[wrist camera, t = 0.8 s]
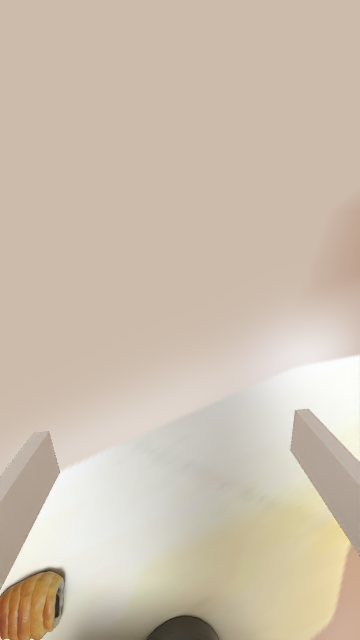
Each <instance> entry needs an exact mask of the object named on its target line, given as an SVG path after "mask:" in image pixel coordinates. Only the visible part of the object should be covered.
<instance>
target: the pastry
mask: <svg viewBox="0 0 360 640" xmlns="http://www.w3.org/2000/svg"><path fill="white" fill-rule="evenodd" d="M63 587H64V579H63V578H62V576H60V575H58V574H57V573H55V572H52V571H48V572H44V573H42V572H40V573H38V574H36V575H33V576H31V577H29V578H27V579H25V580H23V581H21V582H19V583H17V584H15V585H14V586H12V587H10V588H9V589H7V590H6V591H5V592H4V593H3V594H2V595H1V596H0V637H1V639H2V640H4V639H10V640H30V639H31V638H33V639H34V640H40V639H41V638H42V637H43V636H44V635H45V634H46V633H47V632H51V631H52V630H53V629H54V628H55V627H56V626H57V625H58V624H59V621H60V619H61V608H62V606H63V592H62V590H63Z"/></svg>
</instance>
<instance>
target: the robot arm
mask: <svg viewBox="0 0 360 640" xmlns="http://www.w3.org/2000/svg"><path fill="white" fill-rule="evenodd" d="M290 450H291V452H292V453H293V455H294V456H295V458H296V459H297V461H298V462H299V464H300V466H301V467H302V469H303V470H304V472H305V473H306V475H307V476H308V478H309V479H310V481H311V482H312V484H313V485H314V487H315V489H316V490H317V492H318V493H319V495H320V496H321V498H322V499H323V501H324V502H325V504H326V505H327V507H328V508H329V510H330V512H331V513H332V515H333V516H334V518H335V519H336V521H337V522H338V524H339V525H340V527H341V528H342V530H343V531H344V533H345V535H346V536H347V538H348V539H349V541H350V542H351V544H352V545H353V547H354V548H355V550H356V551H357V553H358V554H359V556H360V462H359V461H358V460H357V459H356V458H355V457H354V456H353V455H352V454H351V453H350V452H349V451H348V450H347V448H346V447H345V446H344V445H343V444H342V443H341V442H340V441H339V440H338V439H337V438H336V437H335V436H334V435H333V434H332V433H331V432H330V431H329V430H328V429H327V428H326V426H325V425H324V424H323V423H322V422H321V421H320V420H319V419H318V418H317V417H316V416H315V415H314V414H313V413H312V412H311V411H310V410H309V409H302V410H295V415H294V424H293V432H292V441H291V449H290ZM59 473H60V470H59V466H58V463H57V459H56V455H55V452H54V448H53V444H52V441H51V437H50V433H49V431H47V432H36V433H33V434H32V436H31V437H30V439H29V440H28V441H27V442H26V443H25V445H24V446H23V447H22V449H21V450H20V451H19V452H18V454H17V455H16V457H15V458H14V459H13V460H12V462H11V463H10V464H9V465H8V467H7V468H6V469H5V471H4V472H3V473H2V474H1V476H0V589H1V588H2V586H3V584H4V582H5V580H6V578H7V576H8V574H9V572H10V570H11V568H12V566H13V564H14V562H15V560H16V558H17V556H18V554H19V552H20V550H21V548H22V546H23V544H24V542H25V540H26V538H27V536H28V534H29V532H30V530H31V528H32V526H33V524H34V522H35V520H36V518H37V516H38V514H39V512H40V510H41V508H42V506H43V504H44V502H45V501H46V499H47V497H48V495H49V493H50V491H51V489H52V487H53V485H54V483H55V481H56V479H57V477H58V475H59ZM147 640H219V639H218V637H217V635H216V634H215V632H214V631H213V630H212V628H211V627H210V626H209V625H207V624H206V623H205V622H203V621H201V620H199V619H197V618H193V617H179V618H175V619H172V620H169V621H167V622H166V623H164V624H162V625H161V626H160V627H158V628H157V629H156V630H155V631H154V632H153V633H152V634H151V635H150V636H149V637H148V639H147Z"/></svg>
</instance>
